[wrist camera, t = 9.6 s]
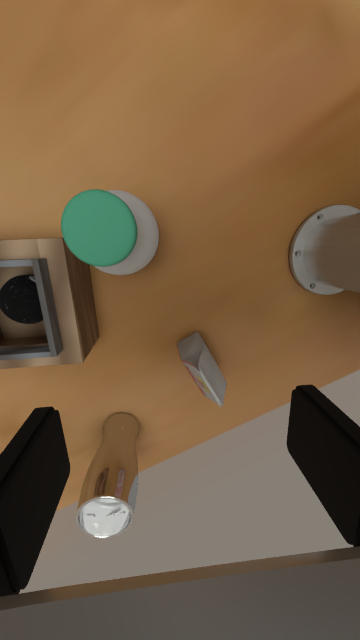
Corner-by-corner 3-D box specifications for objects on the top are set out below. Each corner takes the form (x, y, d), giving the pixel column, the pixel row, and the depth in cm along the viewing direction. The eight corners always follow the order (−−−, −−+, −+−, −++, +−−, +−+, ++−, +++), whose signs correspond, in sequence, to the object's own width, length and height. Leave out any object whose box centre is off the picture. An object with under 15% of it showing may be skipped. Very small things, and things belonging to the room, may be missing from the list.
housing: (85, 239, 34) (54, 237, 24) (99, 336, 38) (77, 371, 28) (-24, 243, 33) (-107, 243, 23) (1, 343, 37) (-58, 381, 27)
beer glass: (150, 431, 44) (147, 522, 29) (116, 450, 44) (97, 549, 30) (127, 402, 42) (112, 485, 27) (92, 423, 42) (59, 514, 28)
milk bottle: (128, 277, 36) (95, 315, 17) (89, 232, 34) (2, 217, 15) (169, 242, 35) (186, 240, 16) (132, 194, 33) (100, 124, 14)
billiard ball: (9, 301, 34) (-21, 314, 29) (26, 263, 33) (-2, 269, 27) (51, 323, 36) (30, 339, 30) (69, 287, 34) (51, 296, 29)
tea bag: (197, 331, 39) (210, 358, 30) (217, 364, 41) (235, 400, 32) (177, 342, 39) (183, 374, 30) (197, 375, 41) (210, 414, 32)
